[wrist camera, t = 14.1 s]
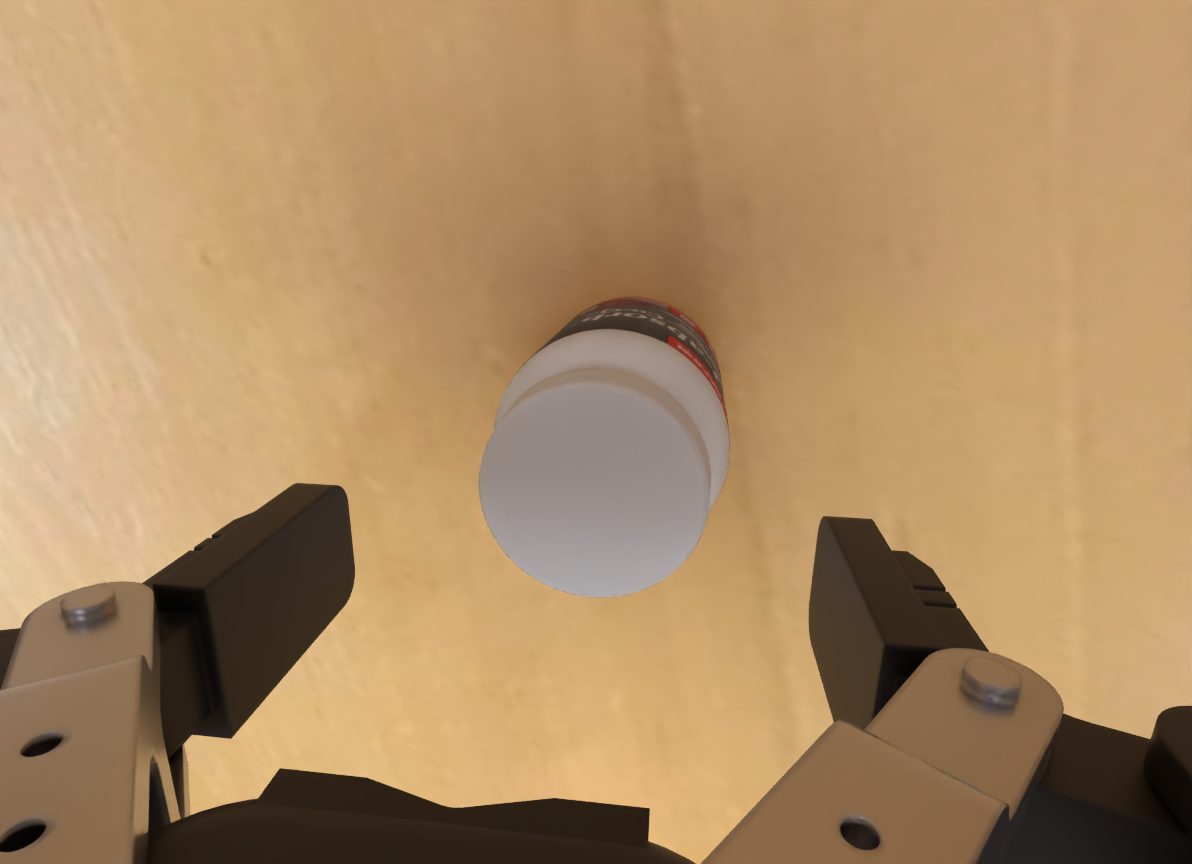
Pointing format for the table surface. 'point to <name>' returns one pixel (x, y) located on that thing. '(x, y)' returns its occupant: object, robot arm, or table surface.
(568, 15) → the table surface
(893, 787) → the robot arm
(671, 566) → the pill bottle
